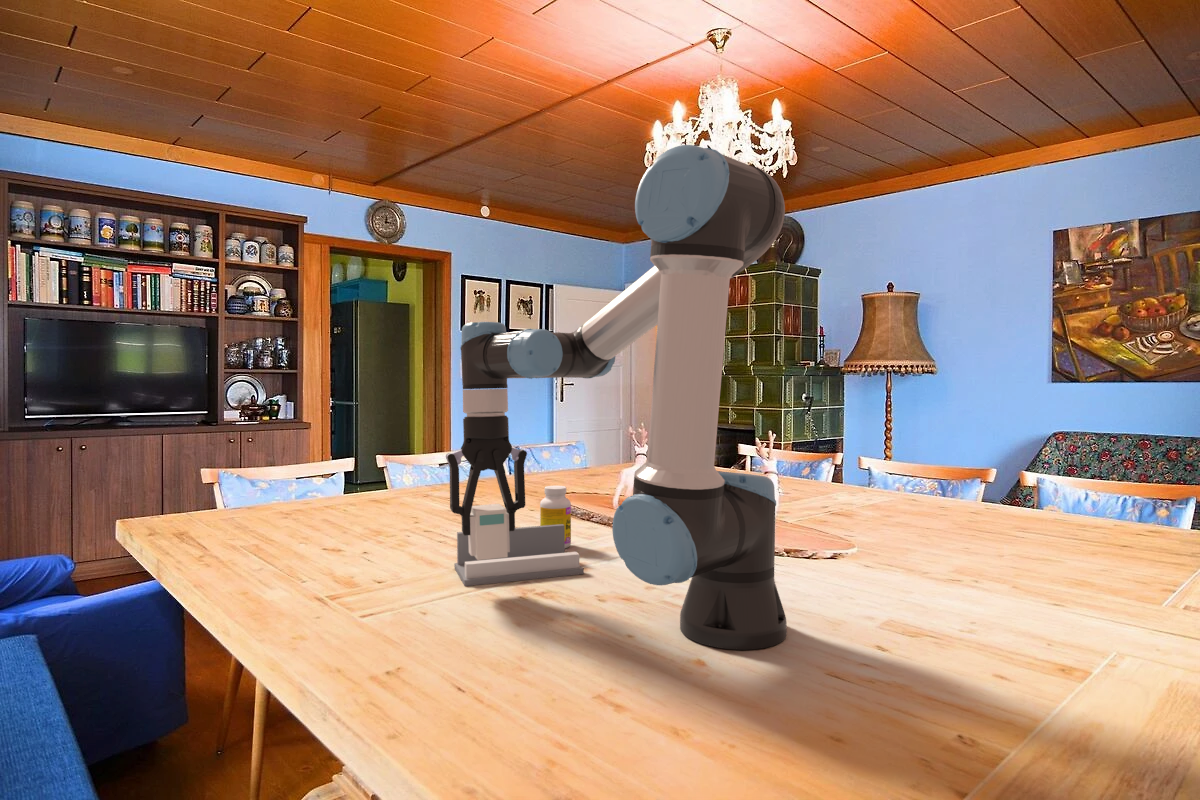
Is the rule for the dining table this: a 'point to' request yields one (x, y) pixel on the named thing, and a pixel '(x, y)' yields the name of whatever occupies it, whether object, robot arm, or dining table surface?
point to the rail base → (519, 549)
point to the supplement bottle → (556, 510)
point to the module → (490, 531)
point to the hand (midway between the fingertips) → (489, 552)
